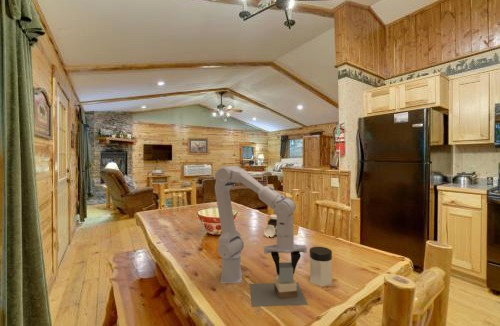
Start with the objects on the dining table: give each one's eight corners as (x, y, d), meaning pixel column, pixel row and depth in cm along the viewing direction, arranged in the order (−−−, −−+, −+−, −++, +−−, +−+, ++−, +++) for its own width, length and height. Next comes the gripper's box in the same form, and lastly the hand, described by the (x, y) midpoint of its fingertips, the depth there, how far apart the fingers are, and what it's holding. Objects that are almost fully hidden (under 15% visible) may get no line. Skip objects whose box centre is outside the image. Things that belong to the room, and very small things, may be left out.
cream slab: (274, 283, 88) (274, 277, 88) (291, 281, 89) (291, 275, 89) (279, 292, 82) (279, 285, 82) (296, 290, 83) (296, 284, 83)
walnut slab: (274, 289, 88) (274, 283, 88) (290, 287, 89) (290, 281, 89) (279, 299, 82) (279, 292, 82) (296, 296, 83) (296, 290, 83)
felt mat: (249, 284, 92) (249, 283, 92) (297, 283, 93) (297, 282, 93) (251, 307, 78) (251, 306, 78) (308, 305, 79) (308, 304, 79)
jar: (336, 281, 94) (336, 250, 94) (326, 290, 88) (326, 256, 88) (315, 274, 100) (315, 244, 100) (304, 281, 94) (304, 250, 94)
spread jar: (283, 232, 155) (283, 214, 154) (284, 238, 144) (284, 218, 143) (264, 232, 156) (264, 214, 156) (263, 238, 145) (263, 218, 144)
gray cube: (277, 275, 87) (277, 262, 87) (290, 274, 88) (290, 262, 87) (279, 281, 83) (279, 268, 83) (293, 281, 83) (293, 268, 83)
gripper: (265, 238, 81) (265, 279, 81) (309, 237, 81) (309, 278, 82) (263, 231, 88) (263, 269, 88) (303, 230, 88) (303, 268, 89)
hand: (285, 273), depth 85 cm, fingers closed on gray cube, 4 cm apart
